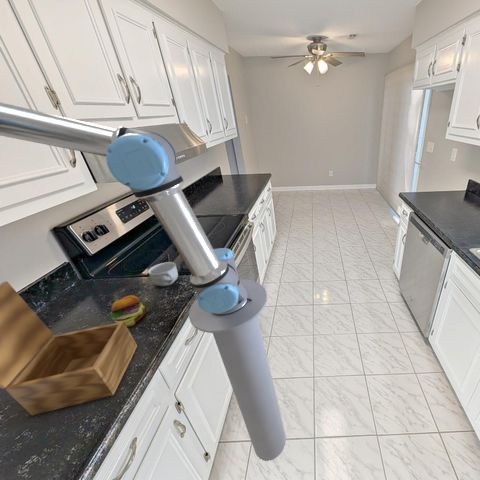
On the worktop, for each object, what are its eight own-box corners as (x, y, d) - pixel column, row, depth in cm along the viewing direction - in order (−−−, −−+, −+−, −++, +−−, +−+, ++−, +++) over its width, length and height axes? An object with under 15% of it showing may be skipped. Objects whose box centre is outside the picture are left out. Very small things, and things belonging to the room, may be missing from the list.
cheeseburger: (113, 334, 89) (101, 309, 86) (119, 321, 98) (108, 299, 95) (146, 321, 93) (136, 297, 91) (149, 310, 103) (139, 288, 100)
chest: (137, 345, 84) (123, 321, 79) (113, 395, 69) (94, 368, 64) (71, 360, 80) (52, 335, 75) (31, 415, 66) (5, 389, 61)
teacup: (151, 282, 116) (145, 267, 113) (176, 272, 123) (171, 258, 119) (159, 296, 107) (152, 280, 103) (185, 284, 113) (180, 269, 110)
